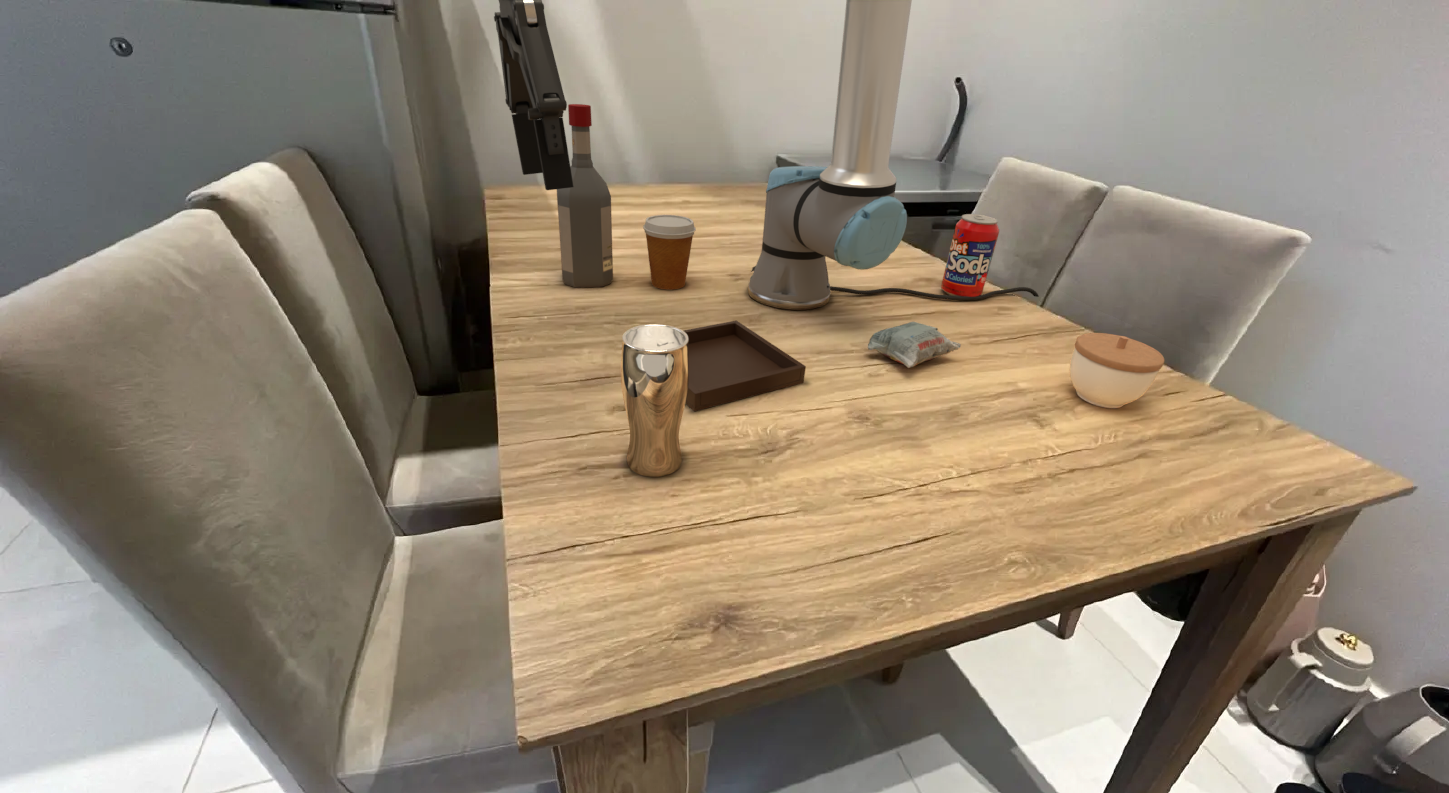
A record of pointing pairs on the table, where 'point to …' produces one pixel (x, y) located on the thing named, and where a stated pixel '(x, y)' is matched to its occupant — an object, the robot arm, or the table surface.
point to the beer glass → (654, 395)
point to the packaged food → (911, 343)
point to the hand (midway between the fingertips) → (546, 180)
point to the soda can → (970, 255)
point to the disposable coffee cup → (669, 249)
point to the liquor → (585, 213)
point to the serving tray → (735, 365)
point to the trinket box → (1112, 369)
